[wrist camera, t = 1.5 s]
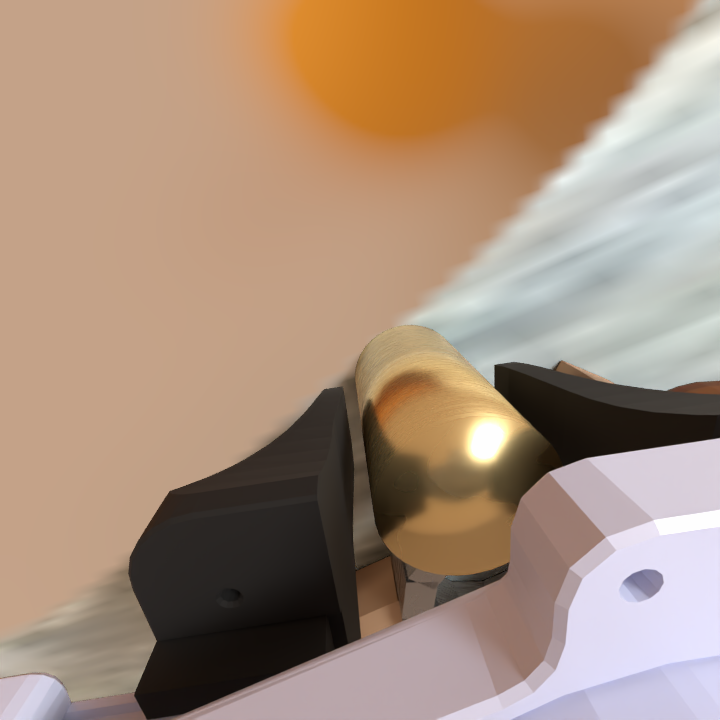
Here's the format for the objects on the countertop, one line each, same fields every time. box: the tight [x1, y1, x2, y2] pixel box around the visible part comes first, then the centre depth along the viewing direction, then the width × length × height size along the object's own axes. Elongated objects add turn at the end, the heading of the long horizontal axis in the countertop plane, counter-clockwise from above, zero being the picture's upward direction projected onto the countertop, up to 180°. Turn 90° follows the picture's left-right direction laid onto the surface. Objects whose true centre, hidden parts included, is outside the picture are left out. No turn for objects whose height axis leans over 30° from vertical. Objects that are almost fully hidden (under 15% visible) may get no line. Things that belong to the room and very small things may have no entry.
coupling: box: [355, 361, 614, 639], centre depth 15 cm, size 15×16×3 cm
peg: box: [355, 325, 563, 576], centre depth 11 cm, size 4×4×7 cm
